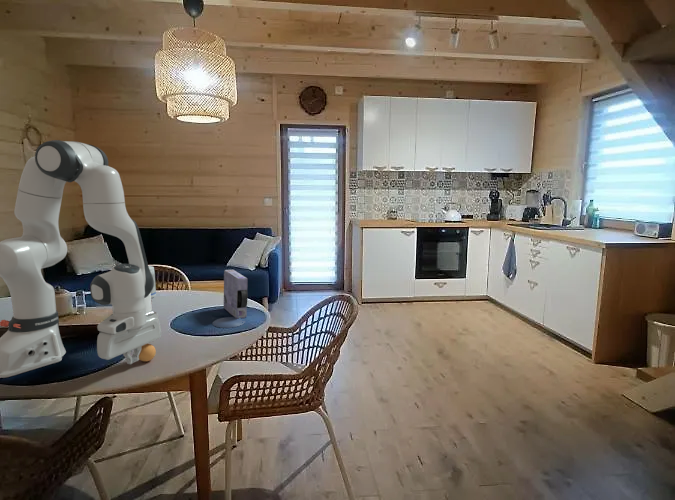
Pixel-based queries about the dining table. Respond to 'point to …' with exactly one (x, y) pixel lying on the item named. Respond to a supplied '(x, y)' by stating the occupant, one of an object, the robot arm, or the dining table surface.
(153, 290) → the supplement tub
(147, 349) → the ball
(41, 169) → the robot arm
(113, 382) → the dining table surface
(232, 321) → the disc
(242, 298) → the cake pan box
